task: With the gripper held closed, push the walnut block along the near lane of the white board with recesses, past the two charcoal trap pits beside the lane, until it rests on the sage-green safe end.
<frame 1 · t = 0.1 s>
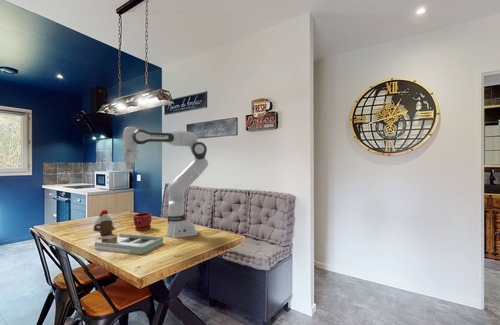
hand: (130, 169, 173), 48 cm above the table, tool pointing down, fingers open, 8 cm apart
block: (109, 243, 154), point 2 cm above the table, touching white board with recesses
mug: (103, 235, 179), on the table
white board with recesses: (129, 246, 155), on the table
kitchen timer: (103, 229, 197), on the table
safe end: (141, 250, 147), on the table
plant pot: (142, 229, 195), on the table
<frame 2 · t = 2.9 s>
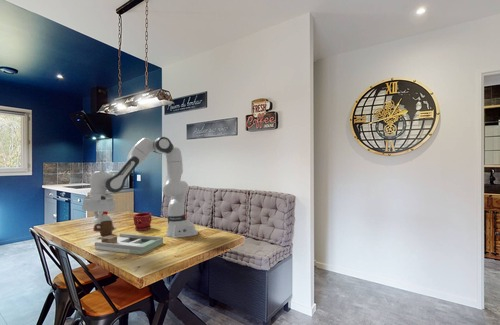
hand: (98, 218, 156), 17 cm above the table, tool pointing down, fingers closed
nothing on the table moved.
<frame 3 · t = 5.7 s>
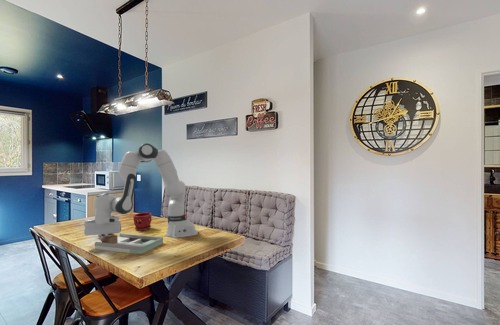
hand: (103, 241, 155), 3 cm above the table, tool pointing down, fingers closed
block: (109, 243, 154), point 2 cm above the table, touching gripper, white board with recesses
everything else where it was.
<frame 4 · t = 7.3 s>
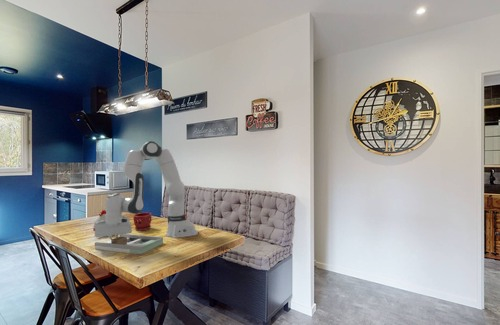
hand: (113, 242, 153), 3 cm above the table, tool pointing down, fingers closed
block: (119, 245, 151), point 2 cm above the table, touching gripper, white board with recesses
everything else where it was.
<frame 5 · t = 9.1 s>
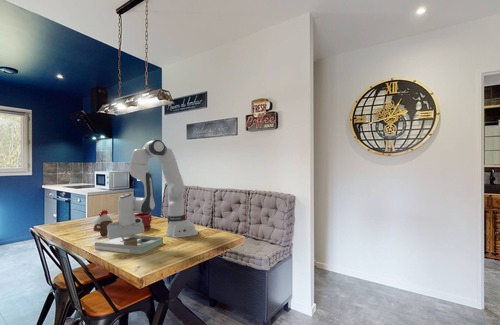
hand: (126, 243, 151), 3 cm above the table, tool pointing down, fingers closed on block
block: (130, 245, 149), point 2 cm above the table, touching gripper
everything else where it was.
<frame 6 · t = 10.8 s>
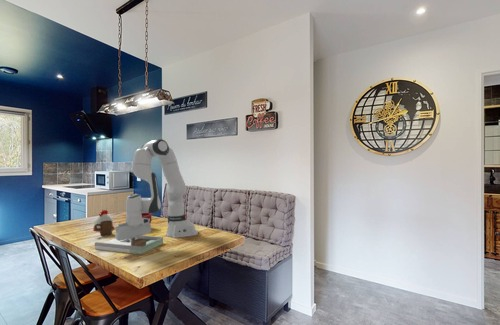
hand: (133, 244, 148), 3 cm above the table, tool pointing down, fingers closed, pressing on block
block: (138, 247, 147), point 2 cm above the table, touching gripper, white board with recesses
everything else where it was.
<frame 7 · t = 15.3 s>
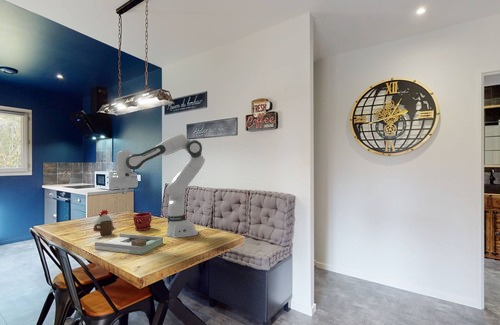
hand: (123, 194, 168), 31 cm above the table, tool pointing down, fingers closed
block: (138, 247, 147), point 2 cm above the table, touching safe end, white board with recesses
everything else where it was.
at the end: block 1.4 cm from the safe end (horizontally); block point 2.0 cm above the table; block tilted 0° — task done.
